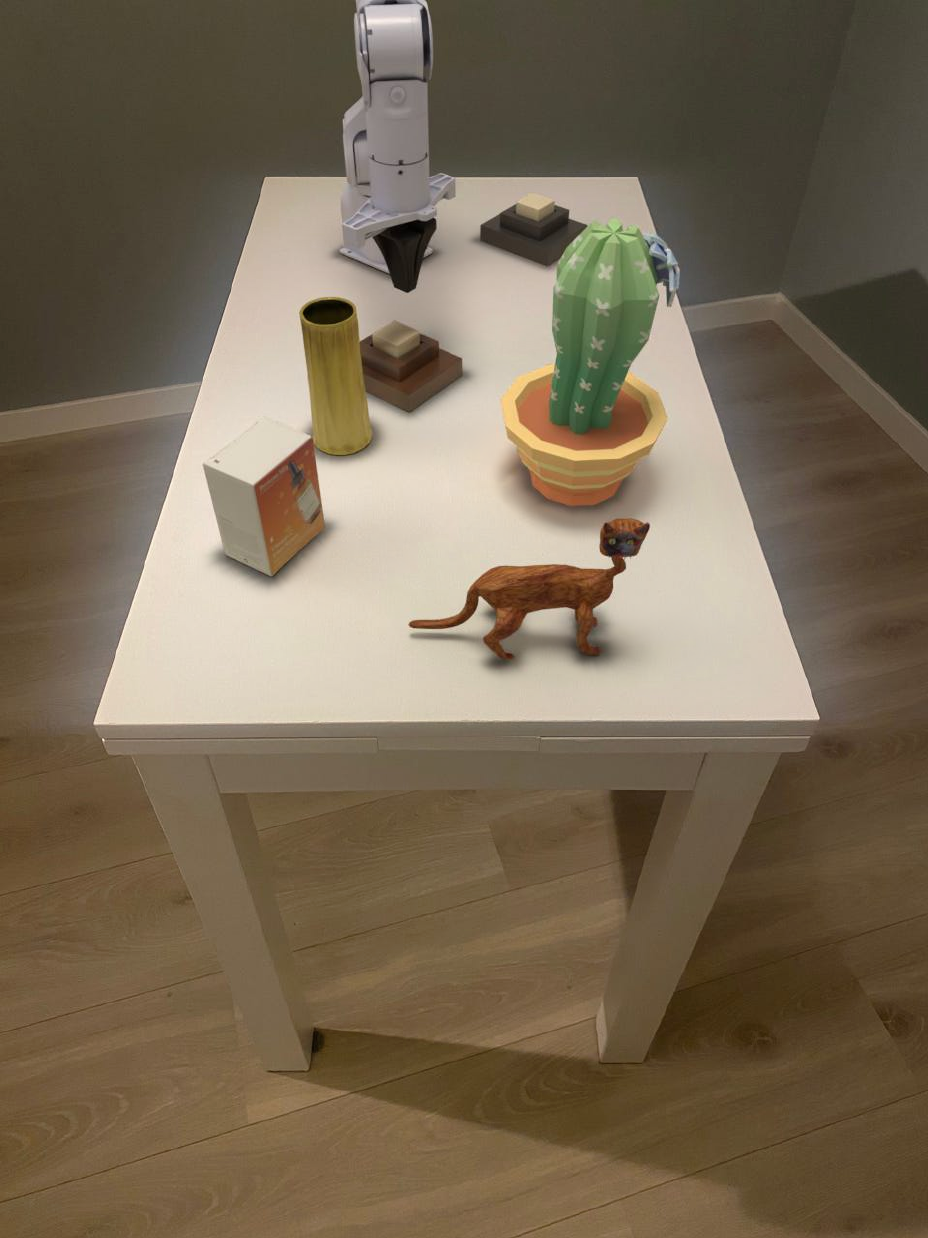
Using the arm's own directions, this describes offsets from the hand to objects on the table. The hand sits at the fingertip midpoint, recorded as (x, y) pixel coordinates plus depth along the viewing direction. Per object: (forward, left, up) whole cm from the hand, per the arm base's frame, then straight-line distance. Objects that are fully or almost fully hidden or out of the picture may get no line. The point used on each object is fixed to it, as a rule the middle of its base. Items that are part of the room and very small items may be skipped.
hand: (404, 287), depth 98 cm
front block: (+1, -2, -9) cm, 10 cm away
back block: (-6, +33, -9) cm, 35 cm away
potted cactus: (+26, -4, -10) cm, 28 cm away
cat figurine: (+34, -25, -10) cm, 43 cm away
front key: (+1, -2, -6) cm, 6 cm away
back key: (-6, +33, -6) cm, 34 cm away
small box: (+10, -29, -10) cm, 32 cm away
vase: (+4, -14, -10) cm, 18 cm away
